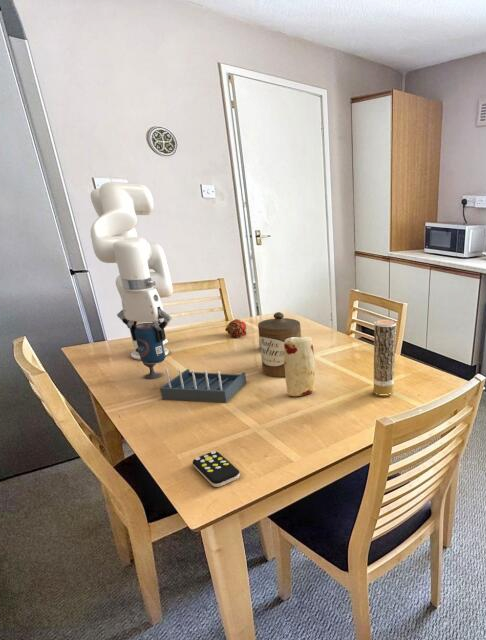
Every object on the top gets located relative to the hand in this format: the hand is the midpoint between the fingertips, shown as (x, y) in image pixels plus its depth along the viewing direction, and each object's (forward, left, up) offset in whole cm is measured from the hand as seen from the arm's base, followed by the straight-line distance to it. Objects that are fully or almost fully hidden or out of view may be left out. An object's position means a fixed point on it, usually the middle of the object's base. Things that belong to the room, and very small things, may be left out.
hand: (149, 339), depth 129 cm
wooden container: (-20, +35, -16) cm, 44 cm away
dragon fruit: (-57, +3, -16) cm, 59 cm away
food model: (+1, +47, -16) cm, 50 cm away
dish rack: (+1, +16, -16) cm, 23 cm away
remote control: (+44, +39, -16) cm, 61 cm away
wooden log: (-3, +75, -16) cm, 76 cm away
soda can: (0, 0, -7) cm, 7 cm away
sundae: (-8, -7, -16) cm, 19 cm away
